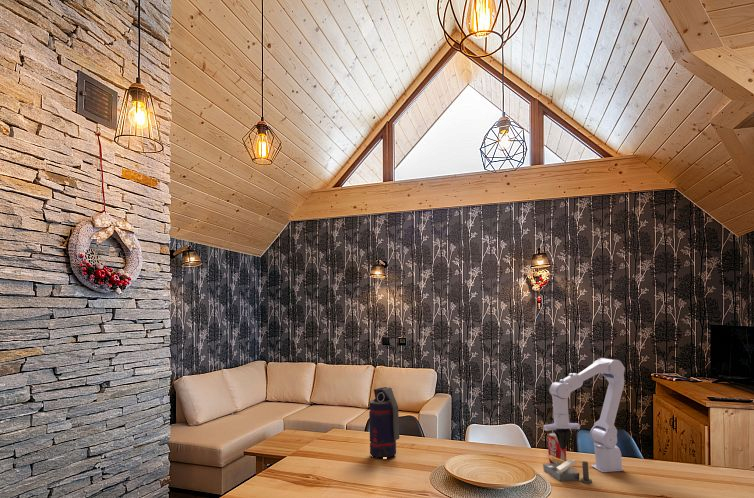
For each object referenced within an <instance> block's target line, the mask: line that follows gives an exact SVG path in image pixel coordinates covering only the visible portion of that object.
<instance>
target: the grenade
mask: <svg viewBox="0 0 754 498" xmlns="http://www.w3.org/2000/svg"><path fill="white" fill-rule="evenodd" d="M373 394H374V399H371V400H370V401H369V402H368V406H369V408H368V409H369V410H368V411H369V442H370V443H369V454H370V456H371V455H372V456H373V457H374V456H375V458H379V457H388V458H391V457H393V455H395V456H396V454H397V440H399V439H400V418H399V405H398V403H397V400H396V397H395V395H394V392H393V388H392V387H387V386H384V387H378V388H375V389H373ZM390 456H391V457H390Z"/></svg>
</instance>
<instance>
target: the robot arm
mask: <svg viewBox="0 0 754 498" xmlns="http://www.w3.org/2000/svg"><path fill="white" fill-rule="evenodd" d="M625 371H626V367H625V366H624V364H623V363H622V362H621V360H620V359H611V358H606V357H600V358H597V360H594V361H593V363H591V364H590V365H589V366H587V367H586V368H584V369H583V370H581V371H580V372H579V373H576V372H573V373H572V372H570V373H568V375H567V376H566V377H564V378H563V379H562V378H561V379H559V382H558V381H554V382H552V383H551V385H550V387H549V388H548V392H549V394H550V396H551V399H552V410H553V411H552V412H553V423H550V424H549V423H548V424H543V430H544V431H545V432H548V431H553V433H555V434H556V436H557V439H558V441H559V444H560V448H562V449H566V450H567V445H568V440H569V438H570V436H571V434H572V431H571V430H575V429H577V430H580V429H581V427H580V425H581V424H580V423H577V422H574V423H573V422H570V418H569V417H570V416H569V401H568V400H569V399H568V398H569V397H570V396H571V393H573V392H574V391H575V390H577V389H579V388H581V387H582V386H583V384H584V381H587V380H589V379H590V378H593V377H594V376H596V375H598V374H601V375H602V376H603V377H604V378H605V380H607V382H608V386H607V389H606V393H605V397H604V401H603V405H602V407H601V413H600V416H599V419H598V420H597V421H595V422H594V423H593V426H592V428H591V429H590V431H589V437H590V439H591V441H592V442H593V443H592V444H593V446H594V447H593V448H594V463H595V464H591V465H590V466H591V467H592V468H594V469H596V470H598V471H599V472H602V473H610V472H623V471H624V469H623V459H622V452H621V449H620V448H619V447H618V445H617V443H618V436H617V435H618V429H617V427H616V426H615V421H616V417H617V414H618V410H619V406H620V402H621V397H622V395H623V390H624V386H625V375H624V374H625Z"/></svg>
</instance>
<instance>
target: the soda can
mask: <svg viewBox="0 0 754 498" xmlns="http://www.w3.org/2000/svg"><path fill="white" fill-rule="evenodd" d="M547 451H548V455H551V456H553V457H556V458H558V459H561V460H564V461H565V462H566V461H567V448H566V449H562V448H560V444H559V441H558V439H557V436H556V434H555V433H554V432H550V433H548V437H547ZM548 462H549V463H555V461H554V460H551V459H550V458H548Z"/></svg>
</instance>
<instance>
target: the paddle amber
mask: <svg viewBox="0 0 754 498" xmlns="http://www.w3.org/2000/svg"><path fill="white" fill-rule="evenodd" d="M547 458H548V459H549V458H550V459H551V460H554V461H555V462H557V463H559V464H560V463H561V464H562V463H564V462H565V461H564V460H561V459H558V458H556V457H553V456H551V455H549V454H548V455H547Z"/></svg>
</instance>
